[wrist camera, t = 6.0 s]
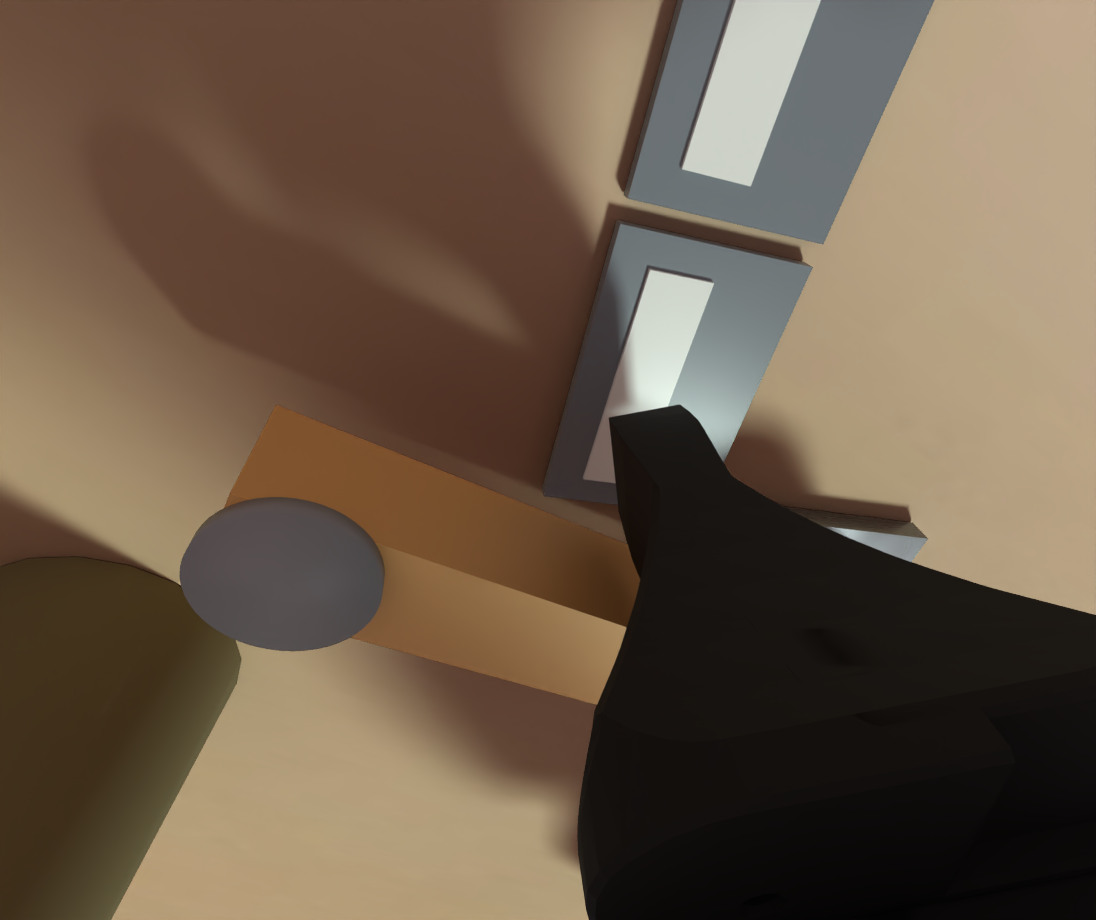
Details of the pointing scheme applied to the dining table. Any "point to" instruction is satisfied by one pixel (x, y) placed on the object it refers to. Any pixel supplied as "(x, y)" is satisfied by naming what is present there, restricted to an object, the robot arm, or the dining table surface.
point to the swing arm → (406, 565)
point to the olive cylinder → (95, 726)
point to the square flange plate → (871, 531)
